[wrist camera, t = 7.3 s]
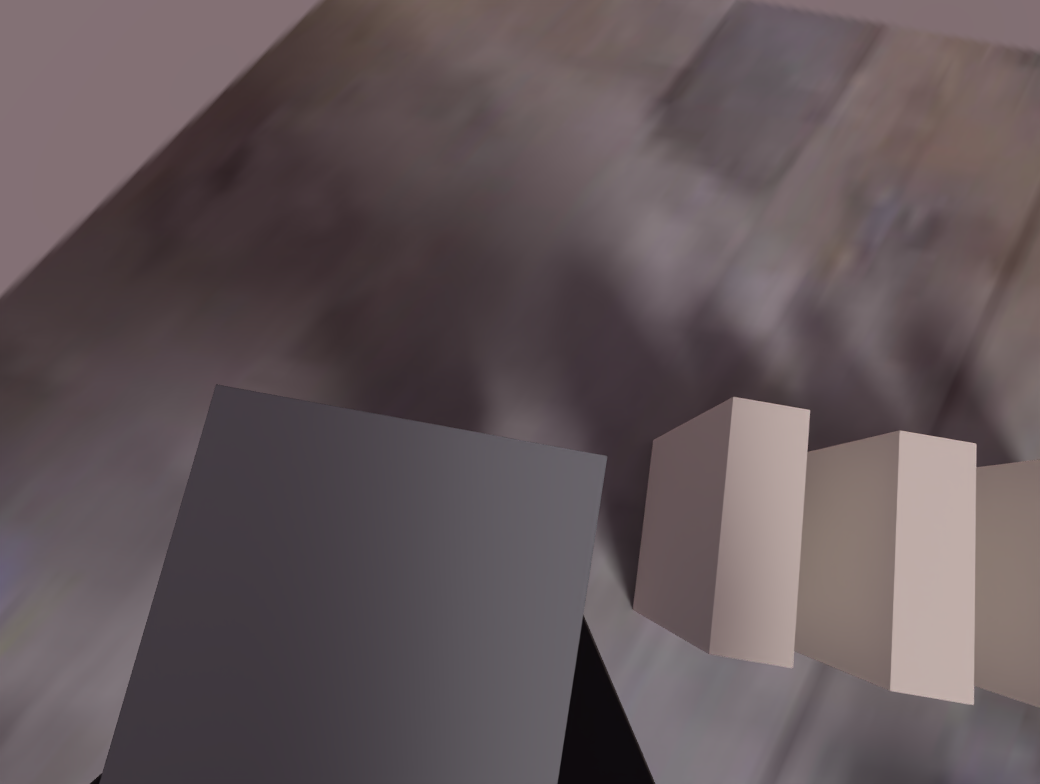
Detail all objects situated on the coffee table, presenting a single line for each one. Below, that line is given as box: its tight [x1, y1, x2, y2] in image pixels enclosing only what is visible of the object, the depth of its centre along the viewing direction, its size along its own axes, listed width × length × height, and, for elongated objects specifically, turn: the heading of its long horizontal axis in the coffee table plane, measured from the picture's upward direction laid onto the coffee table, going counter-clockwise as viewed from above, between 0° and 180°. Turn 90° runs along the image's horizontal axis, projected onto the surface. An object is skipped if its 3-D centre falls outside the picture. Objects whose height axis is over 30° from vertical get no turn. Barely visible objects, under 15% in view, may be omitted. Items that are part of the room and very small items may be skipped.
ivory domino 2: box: [794, 430, 976, 705], centre depth 15 cm, size 2×5×6 cm, turn 171°
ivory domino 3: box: [974, 459, 1040, 707], centre depth 16 cm, size 2×5×6 cm, turn 171°
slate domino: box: [99, 384, 607, 784], centre depth 9 cm, size 2×5×13 cm, turn 170°
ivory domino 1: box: [633, 397, 810, 668], centre depth 15 cm, size 2×5×6 cm, turn 170°
